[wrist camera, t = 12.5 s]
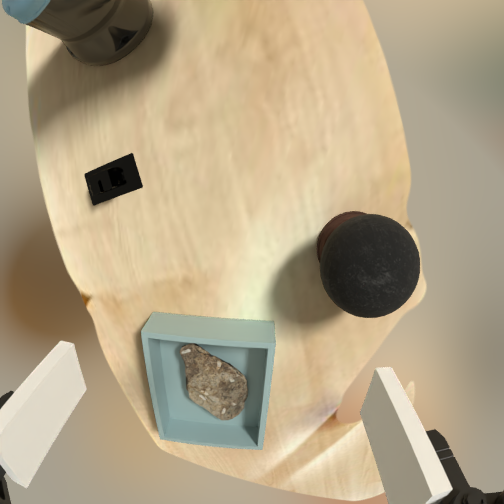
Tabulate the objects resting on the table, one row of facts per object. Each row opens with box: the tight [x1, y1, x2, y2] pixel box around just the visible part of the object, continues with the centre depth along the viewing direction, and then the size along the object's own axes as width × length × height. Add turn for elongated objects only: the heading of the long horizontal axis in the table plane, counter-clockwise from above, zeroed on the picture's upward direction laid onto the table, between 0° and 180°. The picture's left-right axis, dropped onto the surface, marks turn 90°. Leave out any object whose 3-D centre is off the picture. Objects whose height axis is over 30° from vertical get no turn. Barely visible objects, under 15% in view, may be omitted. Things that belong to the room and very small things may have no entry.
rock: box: [179, 343, 248, 420], centre depth 51 cm, size 18×11×4 cm, turn 40°
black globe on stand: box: [317, 211, 420, 318], centre depth 39 cm, size 13×13×15 cm
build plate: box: [85, 153, 143, 205], centre depth 42 cm, size 12×7×5 cm, turn 105°
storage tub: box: [141, 312, 276, 450], centre depth 51 cm, size 26×20×6 cm
